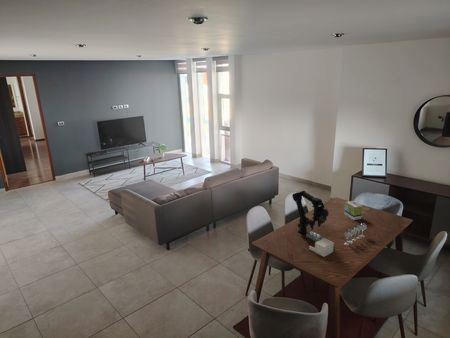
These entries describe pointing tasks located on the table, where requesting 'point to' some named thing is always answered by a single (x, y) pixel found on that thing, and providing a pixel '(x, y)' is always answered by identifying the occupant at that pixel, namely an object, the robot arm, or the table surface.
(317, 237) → the tray
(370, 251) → the table surface
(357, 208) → the tea box
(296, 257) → the table surface
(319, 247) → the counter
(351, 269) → the table surface
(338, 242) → the table surface
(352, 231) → the goblet set
